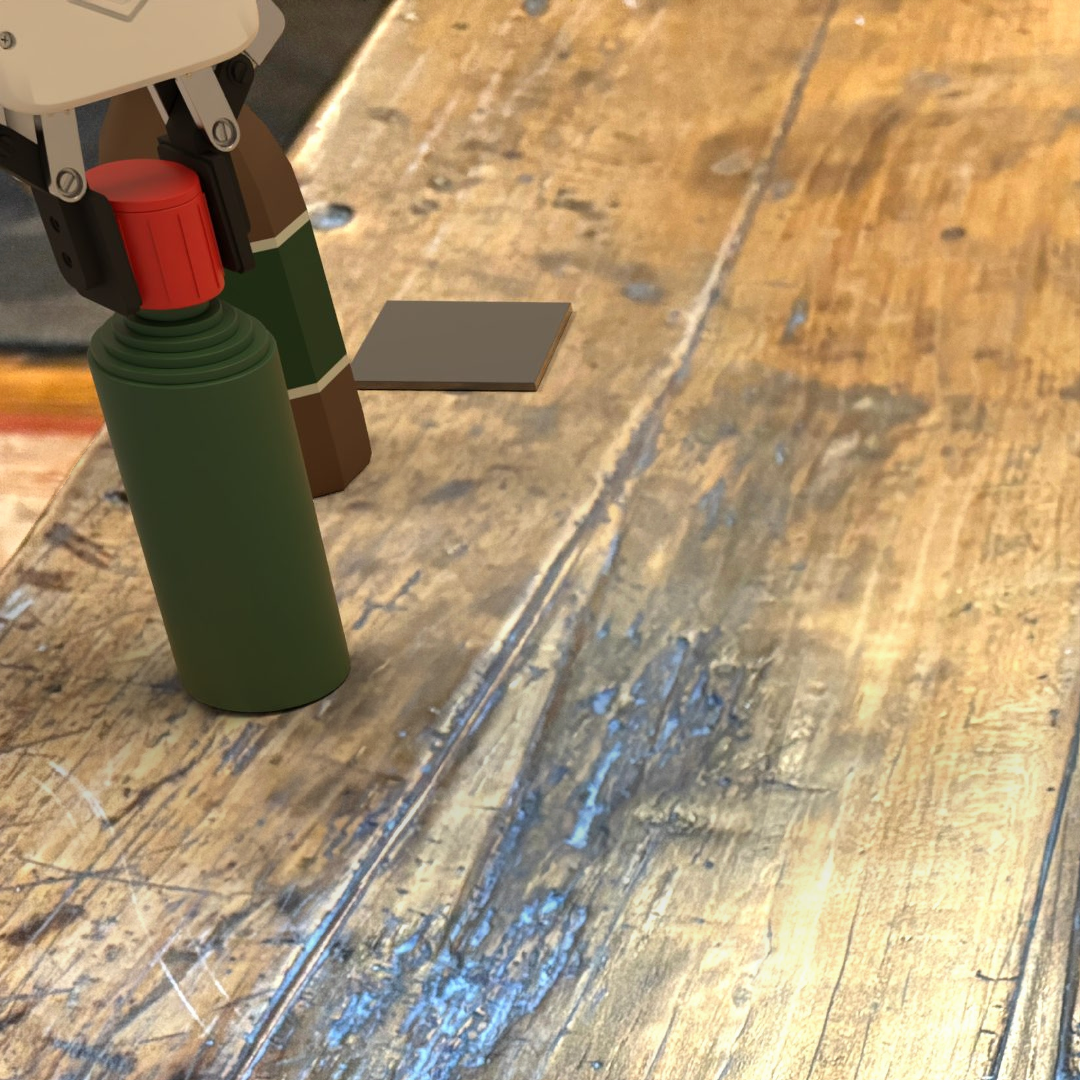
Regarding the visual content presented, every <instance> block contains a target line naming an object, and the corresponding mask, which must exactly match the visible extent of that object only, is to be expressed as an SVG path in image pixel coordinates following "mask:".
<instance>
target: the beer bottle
mask: <svg viewBox="0 0 1080 1080" xmlns="http://www.w3.org/2000/svg"><path fill="white" fill-rule="evenodd" d="M237 123H238V126H239V129H240V140H239V143H238V145H237V146H236V147H235V148H234V149H233V150H231V151H230V154H231V158H232V161H233V165H234V168H235V172H236V175H237V179H238V182H239V185H240V189H241V192H242V196H243V199H244V203H245V206H246V209H247V213H248V216H249V220H250V224H251V231H250V233H248V234H247V235H248V238H249V242H250V245H251V249H252V252H253V255H254V259H255V263H256V268H255V269H254V270H252V271H249V272H246V273H243V274H239V273H237V272H233V271H231V270H228V269H226V268H224V267H223V270H224V274H225V276H223V277H224V282H225V284H224V288H223V290H222V291H221V293H220V294H219V295H218V296H216V298H218V299H220V300H223V301H225V302H227V303H228V304H230V305H231V306H233V307H236V308H238V309H240V310H241V311H243V312H244V313H247V314H249V315H251V316H253V317H255V318H256V319H257V320H259V321H260V322H261V323H262V324H263V325H264V327H265V328H266V330H268V331H269V332H270V333H271V334H272V336H273V337H274V339H275V341H276V344H277V349H278V353H279V357H280V361H281V366H282V370H283V374H284V378H285V383H286V387H287V391H288V395H289V400H290V404H291V408H292V413H293V417H294V421H295V425H296V430H297V434H298V438H299V442H300V447H301V451H302V455H303V459H304V464H305V468H306V472H307V477H308V481H309V485H310V489H311V494H312V498H313V499H314V498H317V497H321V496H324V495H328V494H333V493H335V492H339V491H343V490H345V489H346V487H348V485H349V484H350V483H352V481H353V480H354V479H355V478H356V477H357V476H358V474H360V473H361V472H362V470H364V468H365V467H366V466H367V465H368V464H369V463H370V462H371V457H372V454H373V451H372V447H371V446H372V445H371V442H370V436H369V432H368V427H367V423H366V417H365V413H364V410H363V406H362V402H361V399H360V396H359V392H358V391H359V390H358V389H357V387H356V384H355V380H354V377H353V373H352V369H351V366H350V364H351V361H350V359H349V356H348V351H347V348H346V344H345V340H344V338H343V337H344V336H343V334H342V329H341V326H340V323H339V318H338V316H337V312H336V308H335V304H334V302H333V297H332V294H331V290H330V286H329V283H328V279H327V276H326V272H325V268H324V265H323V261H322V257H321V254H320V250H319V247H318V243H317V240H316V236H315V233H314V229H313V228H314V227H313V225H312V222H311V218H310V213H309V210H308V207H307V204H306V202H305V199H304V197H303V193H302V191H301V188H300V185H299V182H298V180H297V176H296V174H295V171H294V168H293V166H292V163H291V162H290V160H289V159H288V157H287V155H286V154H285V152H284V151H283V149H282V148H281V146H280V145H279V143H278V142H277V140H276V138H275V137H274V135H273V134H272V132H271V131H270V129H269V128H268V126H267V125H266V124H265V123H264V122H263V121H262V120H261V118H259V117H258V115H256V113H255V112H254V111H253V110H252V109H251V108H250V107H249V106H248V105H247V104H246V103H245V102H244V104H243V107H242V109H241V111H240V114H239V116H238V119H237ZM165 126H166V124H165V122H164V121H163V119H162V117H161V114H160V112H159V110H158V108H157V106H156V104H155V102H154V100H153V98H152V96H151V94H150V92H149V90H148V88H147V86H145V87H142V88H139V89H135V90H132V91H129V92H125V93H122V94H119V95H116V96H112V97H111V99H110V102H109V105H108V108H107V111H106V114H105V117H104V120H103V123H102V126H101V129H100V132H99V137H98V139H99V140H98V166H100V165H103V164H106V163H110V162H115V161H122V160H131V159H157V160H160V158H159V155H158V152H157V146H158V145H159V143H158V140H157V137H159V136H162V135H165V134H167V131H166V127H165Z"/></svg>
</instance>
